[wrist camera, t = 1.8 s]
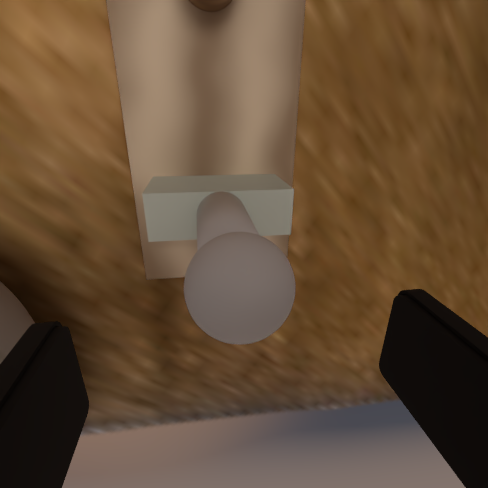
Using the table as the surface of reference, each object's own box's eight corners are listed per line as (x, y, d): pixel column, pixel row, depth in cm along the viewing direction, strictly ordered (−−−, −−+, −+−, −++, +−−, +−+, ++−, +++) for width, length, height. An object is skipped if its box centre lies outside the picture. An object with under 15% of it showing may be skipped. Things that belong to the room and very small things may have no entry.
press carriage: (274, 167, 23) (398, 253, 9) (272, 217, 24) (374, 356, 11) (152, 169, 21) (76, 273, 8) (158, 222, 23) (104, 386, 9)
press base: (304, -129, 18) (364, -261, 12) (280, 260, 28) (305, 302, 22) (91, -155, 16) (26, -324, 10) (149, 268, 27) (135, 317, 20)
